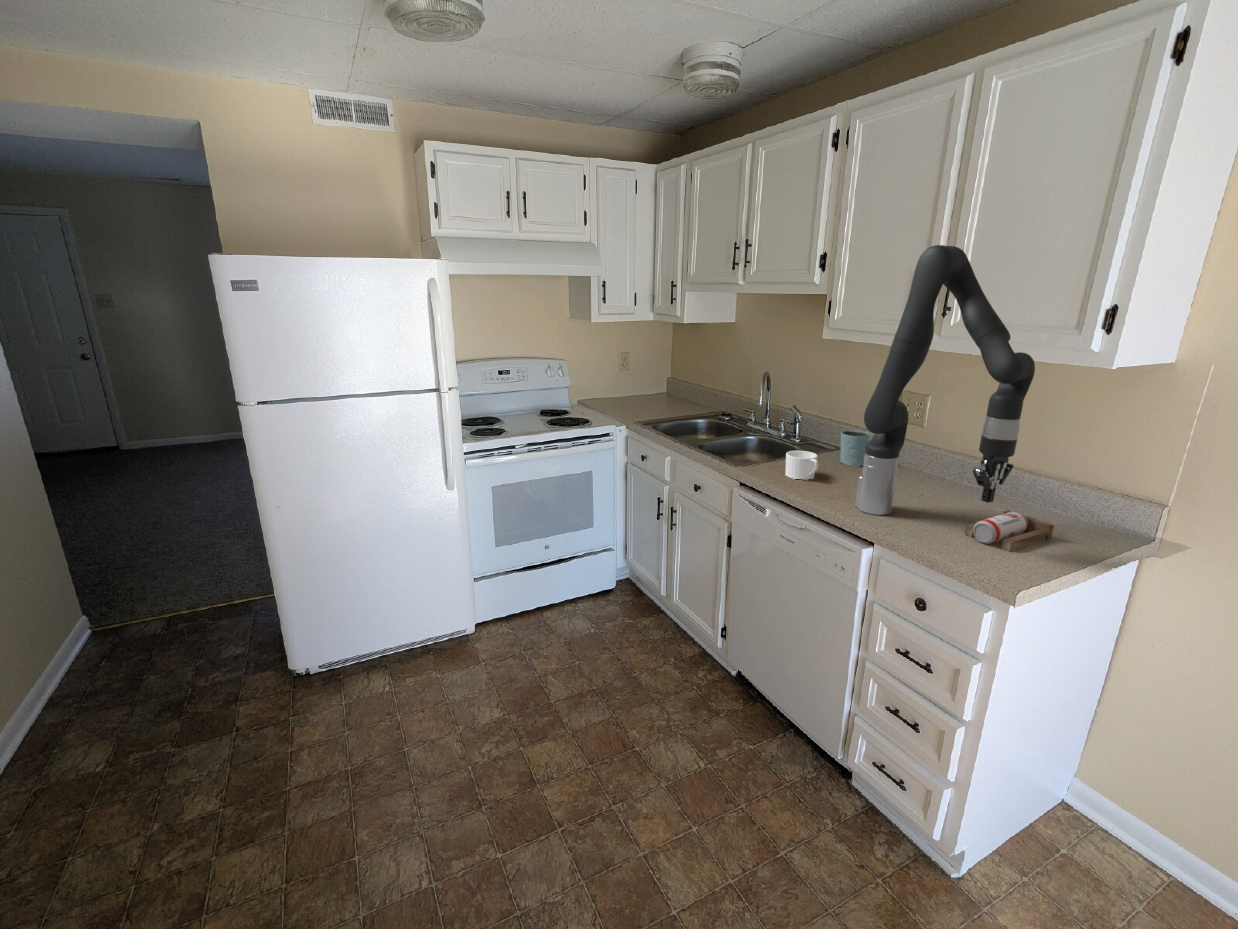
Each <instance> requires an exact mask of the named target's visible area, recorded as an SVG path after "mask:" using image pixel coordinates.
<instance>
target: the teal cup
mask: <svg viewBox="0 0 1238 929" xmlns="http://www.w3.org/2000/svg"><path fill="white" fill-rule="evenodd" d="M870 436H871V435H870V433H869V432H866V431H861V430H842V431H841V432H840V462H842V463H844V464H847V465H851V466H862V465H863V464H864V455H865V447H866V444H867V443H868V442H869V441H870ZM862 467H863V466H862Z"/></svg>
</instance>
